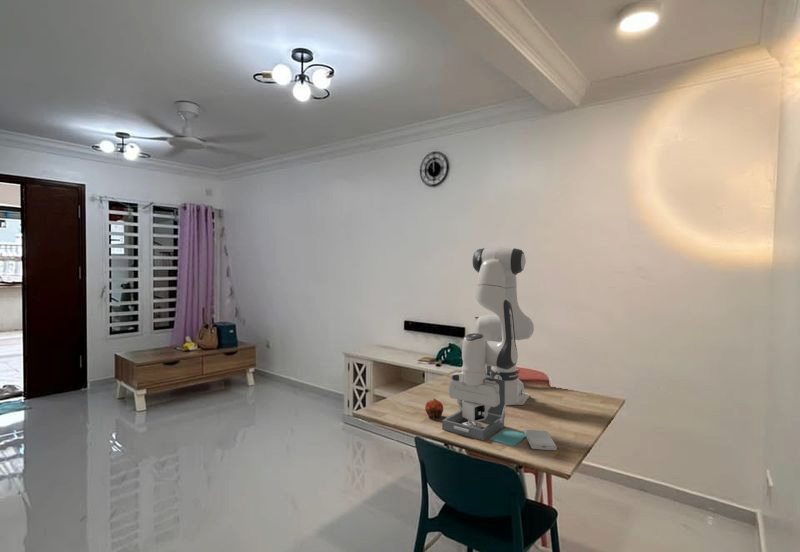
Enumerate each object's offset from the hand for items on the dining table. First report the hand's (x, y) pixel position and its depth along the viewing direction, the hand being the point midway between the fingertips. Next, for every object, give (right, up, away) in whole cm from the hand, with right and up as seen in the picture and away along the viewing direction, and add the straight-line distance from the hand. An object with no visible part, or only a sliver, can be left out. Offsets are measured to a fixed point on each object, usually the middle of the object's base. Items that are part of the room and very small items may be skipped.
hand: (473, 413), depth 162 cm
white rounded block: (0, -6, 0) cm, 6 cm away
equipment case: (0, -5, 0) cm, 5 cm away
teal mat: (+11, -6, -9) cm, 15 cm away
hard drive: (+21, -6, -13) cm, 25 cm away
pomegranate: (-14, -5, +12) cm, 19 cm away
